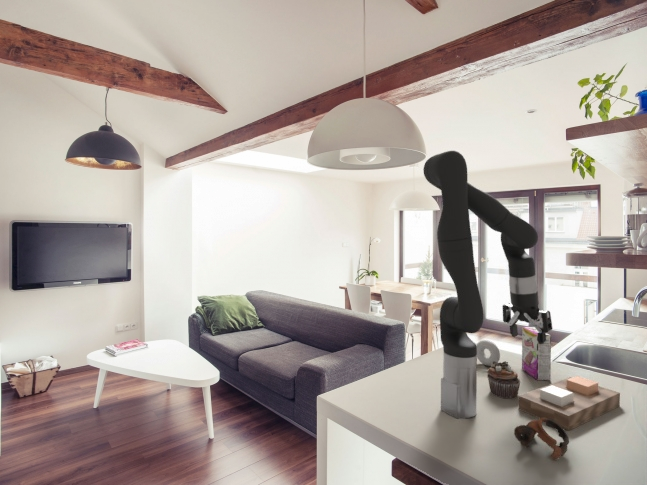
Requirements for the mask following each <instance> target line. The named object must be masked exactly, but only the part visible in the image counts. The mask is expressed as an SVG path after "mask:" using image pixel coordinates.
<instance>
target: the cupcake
mask: <svg viewBox="0 0 647 485" xmlns="http://www.w3.org/2000/svg"><path fill="white" fill-rule="evenodd" d="M486 378H487V381H488V385H489V390H490V392H491V394H493V396H495V397H498V398H502V399H508V400H509V399H510V400H511V399H512V400H513V399H516V398H517V397H518V396H519V395H518V394H519V390H520V386H521V384H522V383H521V380H520V379H519V374H518V373H517V371H516V370H515V369H513V368H512V367H511V366H510V365H509V362H508V361H503V362H498V363H497V362H495V361H493V363H492V364H491V366H489V367H488V369H487V377H486Z"/></svg>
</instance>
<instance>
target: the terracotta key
mask: <svg viewBox="0 0 647 485" xmlns="http://www.w3.org/2000/svg"><path fill="white" fill-rule="evenodd" d="M598 386H599V382H597V381H593V380H591V379H588V378H584V377H581V376H578V375H576V376H574V377H573V376H572V378H570V379H568V380H567V384H566V388H567V389H570V390H573V391H576V392H579V393H582V394H585V395H588V396H589V395H591V394H594V393H596V392H598Z"/></svg>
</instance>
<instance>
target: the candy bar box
mask: <svg viewBox="0 0 647 485" xmlns="http://www.w3.org/2000/svg"><path fill="white" fill-rule="evenodd" d="M551 339H552V335H551V334H549V333H548V332H547V333H546V342H544V343H543V344H539V343H538V331H537V329H536V328H535V327H533V326H522V327H521V369H522V370H523V371H525V372H526V373H527V374H528V375H530V376H531V377H532V378H534V379H535V380H537V381H541V382H542V381H551V372H552V371H551V370H552V369H551V360H552V359H551V357H552V355H551V354H552V352H551V351H552V349H551V348H552V345H551V344H552V340H551Z"/></svg>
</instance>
